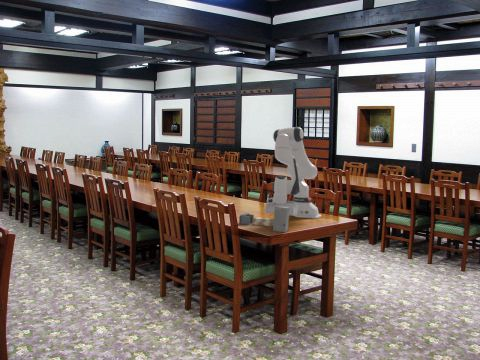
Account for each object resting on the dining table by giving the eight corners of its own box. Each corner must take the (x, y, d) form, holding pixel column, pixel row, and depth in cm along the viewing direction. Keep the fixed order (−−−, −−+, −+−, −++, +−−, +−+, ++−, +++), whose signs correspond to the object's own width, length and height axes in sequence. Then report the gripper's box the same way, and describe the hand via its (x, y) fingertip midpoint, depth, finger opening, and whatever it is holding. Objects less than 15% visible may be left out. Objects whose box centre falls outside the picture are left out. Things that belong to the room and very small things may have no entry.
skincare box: (272, 231, 322) (273, 206, 320) (276, 229, 328) (277, 205, 327) (285, 232, 319) (286, 207, 317) (289, 230, 325) (289, 206, 323)
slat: (252, 224, 343) (252, 218, 342) (254, 223, 347) (254, 217, 346) (272, 226, 338) (272, 219, 337) (274, 225, 342) (274, 218, 341)
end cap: (253, 222, 349) (253, 213, 349) (249, 224, 341) (249, 215, 340) (243, 221, 352) (244, 212, 351) (239, 223, 343) (239, 214, 343)
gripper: (296, 200, 335) (295, 221, 337) (267, 198, 343) (266, 218, 344) (294, 202, 329) (293, 222, 331) (264, 199, 337) (263, 220, 338)
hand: (279, 220), depth 338 cm, fingers closed
